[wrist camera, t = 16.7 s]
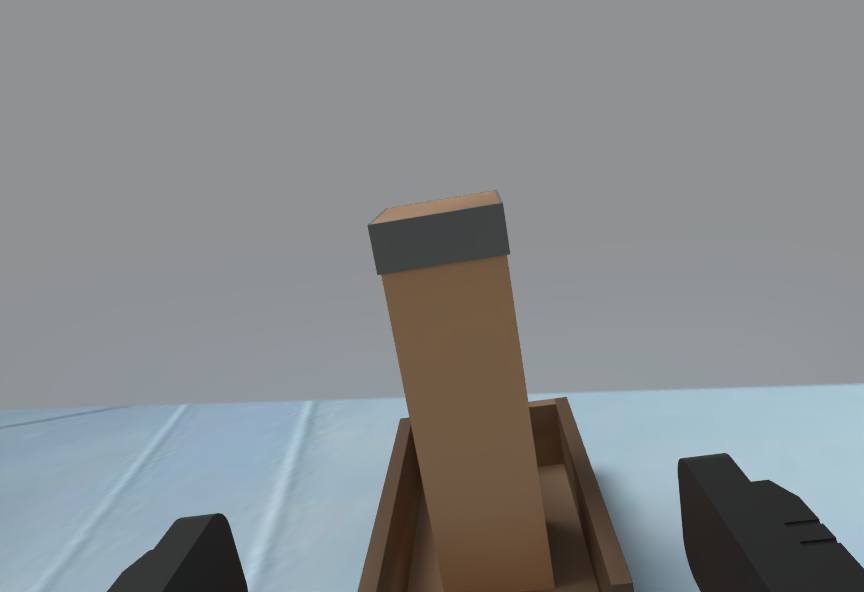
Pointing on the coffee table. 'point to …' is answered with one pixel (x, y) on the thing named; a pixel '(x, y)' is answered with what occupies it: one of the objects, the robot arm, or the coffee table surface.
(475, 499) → the brown tall square block
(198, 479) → the coffee table surface
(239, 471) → the coffee table surface
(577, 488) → the walnut box
